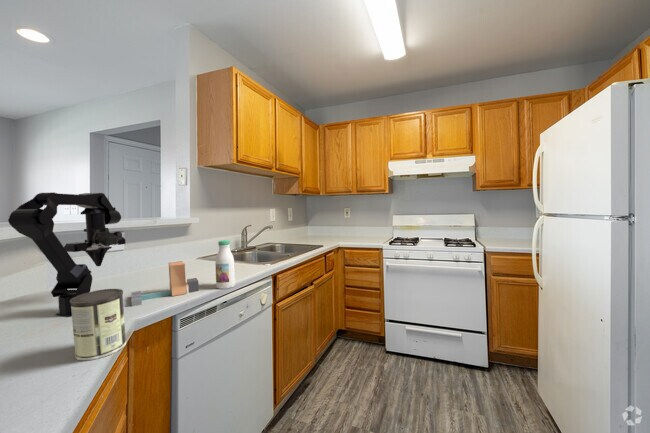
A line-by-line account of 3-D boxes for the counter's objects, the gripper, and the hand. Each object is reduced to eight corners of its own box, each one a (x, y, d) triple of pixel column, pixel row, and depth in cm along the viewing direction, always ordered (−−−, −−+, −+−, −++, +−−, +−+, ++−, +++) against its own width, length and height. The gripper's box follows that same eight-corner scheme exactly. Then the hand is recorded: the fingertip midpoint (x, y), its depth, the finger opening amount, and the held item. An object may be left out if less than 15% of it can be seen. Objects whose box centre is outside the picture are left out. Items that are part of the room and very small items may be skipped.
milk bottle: (227, 283, 126) (225, 239, 125) (239, 285, 122) (237, 240, 121) (212, 287, 119) (210, 241, 118) (224, 290, 115) (222, 242, 114)
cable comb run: (131, 306, 100) (131, 294, 99) (131, 297, 110) (131, 286, 109) (200, 293, 113) (200, 282, 112) (195, 285, 123) (194, 276, 122)
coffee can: (96, 340, 75) (92, 289, 75) (135, 338, 76) (132, 287, 75) (62, 362, 65) (57, 303, 64) (107, 360, 65) (103, 301, 65)
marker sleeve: (172, 296, 109) (170, 265, 108) (170, 291, 115) (168, 262, 114) (186, 293, 112) (184, 264, 111) (183, 289, 118) (182, 261, 117)
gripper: (84, 228, 95) (87, 273, 96) (134, 223, 113) (137, 261, 114) (61, 228, 98) (64, 271, 99) (114, 223, 116) (116, 260, 117)
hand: (98, 266), depth 107 cm, fingers closed
